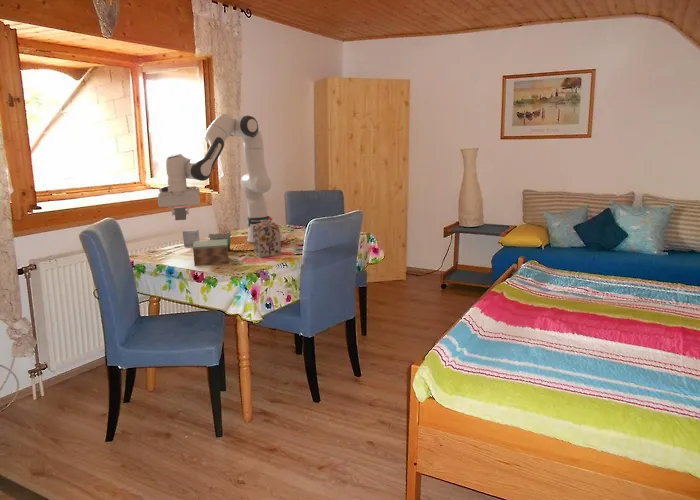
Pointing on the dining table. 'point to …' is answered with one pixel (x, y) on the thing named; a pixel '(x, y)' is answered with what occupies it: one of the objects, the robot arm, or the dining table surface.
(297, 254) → the dining table surface
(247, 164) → the robot arm
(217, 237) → the food container
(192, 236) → the medicine box
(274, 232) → the decorative jar
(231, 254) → the dining table surface
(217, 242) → the box lid
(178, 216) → the block
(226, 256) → the wooden box
